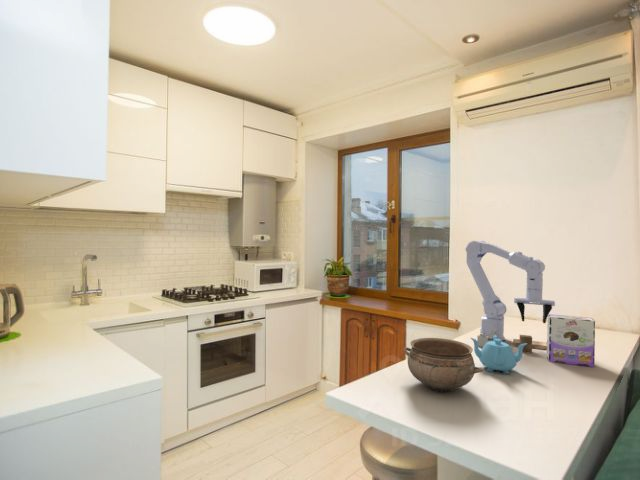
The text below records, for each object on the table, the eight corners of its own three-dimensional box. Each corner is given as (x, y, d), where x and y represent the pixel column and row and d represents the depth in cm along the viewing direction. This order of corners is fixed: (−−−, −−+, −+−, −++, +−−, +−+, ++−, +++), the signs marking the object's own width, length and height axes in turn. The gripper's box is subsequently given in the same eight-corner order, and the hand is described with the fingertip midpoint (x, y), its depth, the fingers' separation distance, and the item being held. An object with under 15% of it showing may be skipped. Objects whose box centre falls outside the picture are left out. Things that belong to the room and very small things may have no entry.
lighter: (477, 345, 154) (477, 326, 154) (478, 345, 155) (479, 325, 155) (495, 349, 149) (495, 329, 149) (496, 348, 150) (497, 329, 150)
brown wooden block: (520, 351, 147) (520, 336, 147) (517, 345, 155) (517, 331, 155) (531, 353, 146) (532, 337, 145) (528, 347, 153) (528, 332, 153)
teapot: (499, 378, 118) (499, 346, 118) (467, 365, 130) (467, 336, 130) (527, 373, 123) (528, 342, 123) (494, 360, 136) (494, 332, 135)
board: (515, 346, 154) (515, 342, 154) (513, 342, 160) (513, 338, 160) (557, 350, 149) (557, 346, 149) (554, 346, 155) (554, 343, 154)
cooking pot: (386, 383, 113) (386, 342, 113) (419, 368, 126) (420, 332, 126) (467, 412, 95) (468, 364, 95) (496, 391, 108) (497, 349, 108)
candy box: (590, 362, 135) (592, 317, 135) (594, 367, 130) (596, 320, 130) (546, 356, 141) (547, 313, 141) (548, 361, 136) (549, 316, 136)
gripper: (515, 289, 154) (515, 322, 154) (556, 291, 149) (555, 325, 149) (513, 287, 161) (513, 318, 161) (553, 289, 155) (552, 322, 156)
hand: (533, 321), depth 155 cm, fingers open, 7 cm apart
